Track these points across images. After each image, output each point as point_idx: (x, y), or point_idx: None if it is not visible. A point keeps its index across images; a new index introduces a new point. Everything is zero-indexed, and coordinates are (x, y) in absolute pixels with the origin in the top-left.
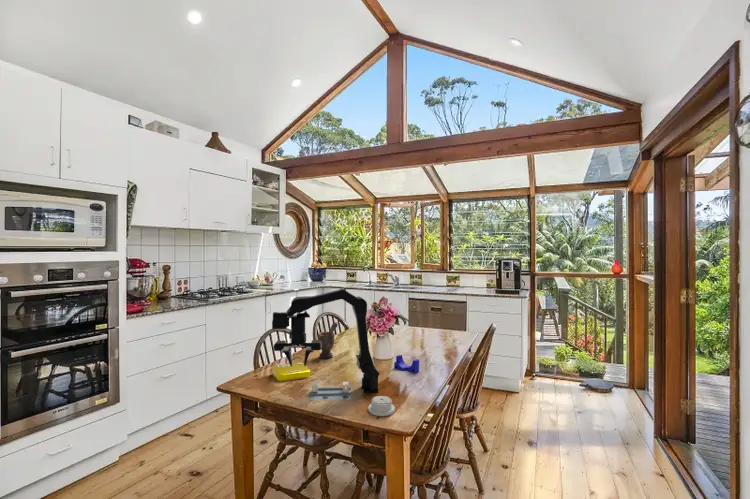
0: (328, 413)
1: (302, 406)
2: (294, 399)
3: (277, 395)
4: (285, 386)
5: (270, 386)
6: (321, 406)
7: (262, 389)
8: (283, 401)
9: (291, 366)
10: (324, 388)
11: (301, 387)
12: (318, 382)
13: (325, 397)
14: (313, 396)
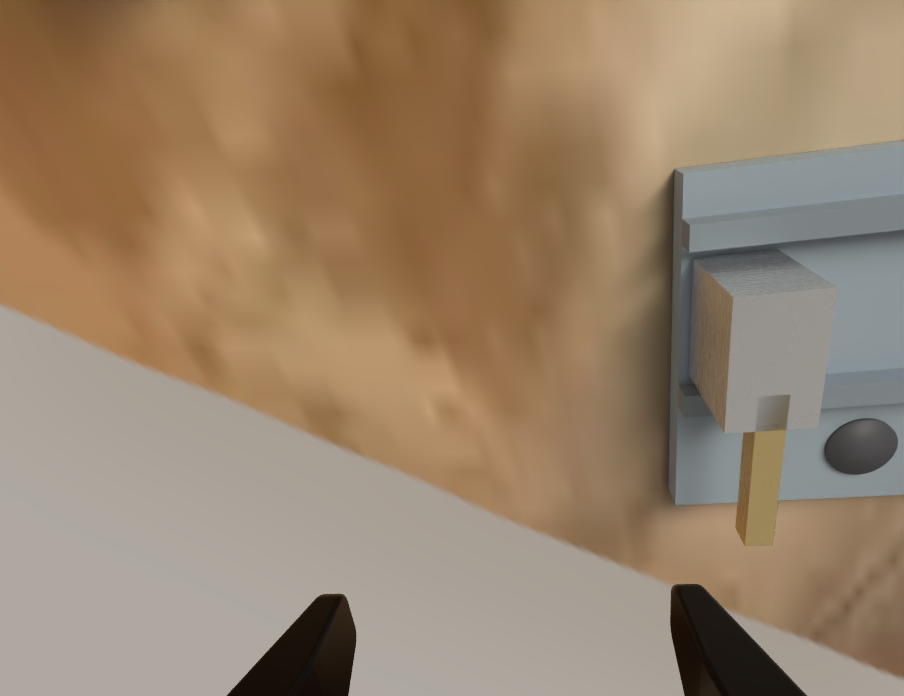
0: (850, 652)
1: (605, 547)
2: (493, 416)
3: (275, 328)
4: (243, 24)
5: (42, 46)
6: (791, 548)
7: (11, 165)
8: (396, 459)
9: (351, 645)
10: (880, 230)
11: (489, 43)
12: (834, 304)
13: (861, 452)
14: (711, 418)
